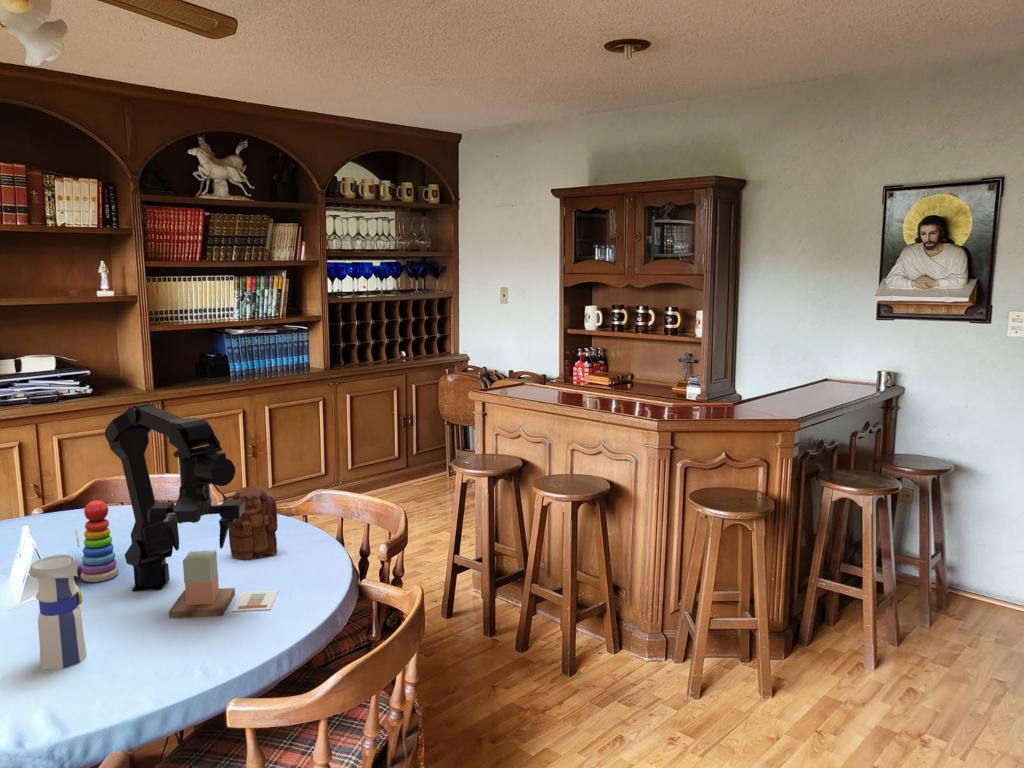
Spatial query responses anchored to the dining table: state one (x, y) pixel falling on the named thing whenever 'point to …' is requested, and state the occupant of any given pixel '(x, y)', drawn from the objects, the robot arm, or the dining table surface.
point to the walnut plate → (202, 605)
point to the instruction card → (255, 601)
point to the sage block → (200, 566)
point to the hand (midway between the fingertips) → (199, 548)
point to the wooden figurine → (254, 525)
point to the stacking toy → (97, 545)
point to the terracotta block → (202, 592)
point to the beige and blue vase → (59, 612)
